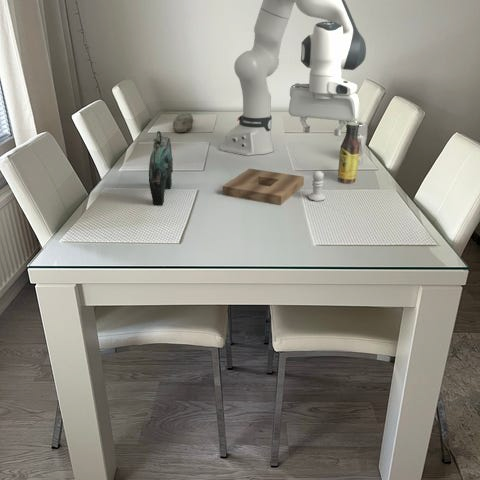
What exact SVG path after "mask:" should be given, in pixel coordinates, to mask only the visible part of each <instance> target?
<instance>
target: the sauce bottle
mask: <svg viewBox="0 0 480 480" xmlns="http://www.w3.org/2000/svg"><path fill="white" fill-rule="evenodd" d="M345 125H346V127H345V128H346V130H345V131H346V132H345V136H344V139H343V141H342V142H341V145H340V150H339V159H338V170H337V181H338V182H340V183H342V184H353V183H355V182H356V180H357V174H358V166H359V165H358V159H359V148H360V143H359V140H358V139H357V136H358V135H357V134H358V129H359V123H356V122H354V121H353V122H350V121H347V123H346V124H345Z"/></svg>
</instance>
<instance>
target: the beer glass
mask: <svg viewBox="0 0 480 480" xmlns="http://www.w3.org/2000/svg"><path fill="white" fill-rule="evenodd" d="M353 122H356V123H359V129H358V134H357V135H358V136H357V139H358V140H359V143H360V148H359V159H358V166H361V165H363V164H364V159H363V158H364V157H363V155H364V151H365V147H366V143H367V139H368V127H369V126H368V125H369V124H368V122H366V121H359V120H358V121H357V120H355V121H353Z"/></svg>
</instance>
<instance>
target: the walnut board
mask: <svg viewBox="0 0 480 480" xmlns="http://www.w3.org/2000/svg"><path fill="white" fill-rule="evenodd" d="M304 179H305V175H304V176H303V175H297V174H290V173H282V172H275V171H269V170H263V169H254V168H248V169H247V170H244V171H243V172H242V173H241V174H239V175H237V176H236V177H234V178H233V179H231V180H229V181H228V182H227V183H225V184H223V185H222V190H221V193H222V196H225V197H226V196H227V197H232V198H238V199H244V200H249V201H254V202H261V203H266V204H267V203H268V204H272V205H278V206H282V205H283V204H284V203H285V202H286V201H288V199H289V198H291V197H292V196H293V195H294V194H295V193H296V192H298V191H299V190H300V189H301V188H302V187H303V186H304Z"/></svg>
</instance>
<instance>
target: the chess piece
mask: <svg viewBox="0 0 480 480" xmlns="http://www.w3.org/2000/svg"><path fill="white" fill-rule="evenodd" d="M324 176H325V174H324V172H322V170H316V171H314V172H313V174H312V179H313V180H312V186H313V187H312V193H310V194H308V199H309V200H310V201H312V200H314V201H313V202H322V200H323V201H324V199H326V195H325V194H324V193H323V186H324V180H323V179H324Z"/></svg>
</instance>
